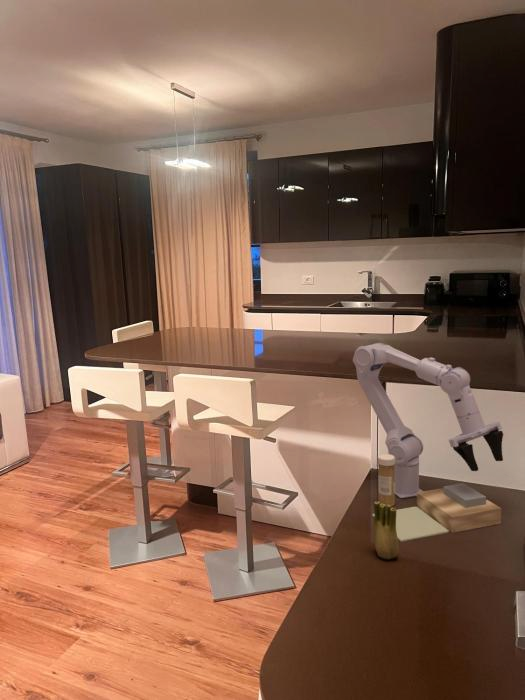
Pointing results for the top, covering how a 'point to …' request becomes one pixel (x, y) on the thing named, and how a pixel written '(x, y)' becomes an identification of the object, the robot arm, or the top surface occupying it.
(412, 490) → the robot arm
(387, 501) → the sprinkles bottle
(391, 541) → the fennel bulb
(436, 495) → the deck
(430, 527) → the mat
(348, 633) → the top surface
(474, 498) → the grey rectangular block
